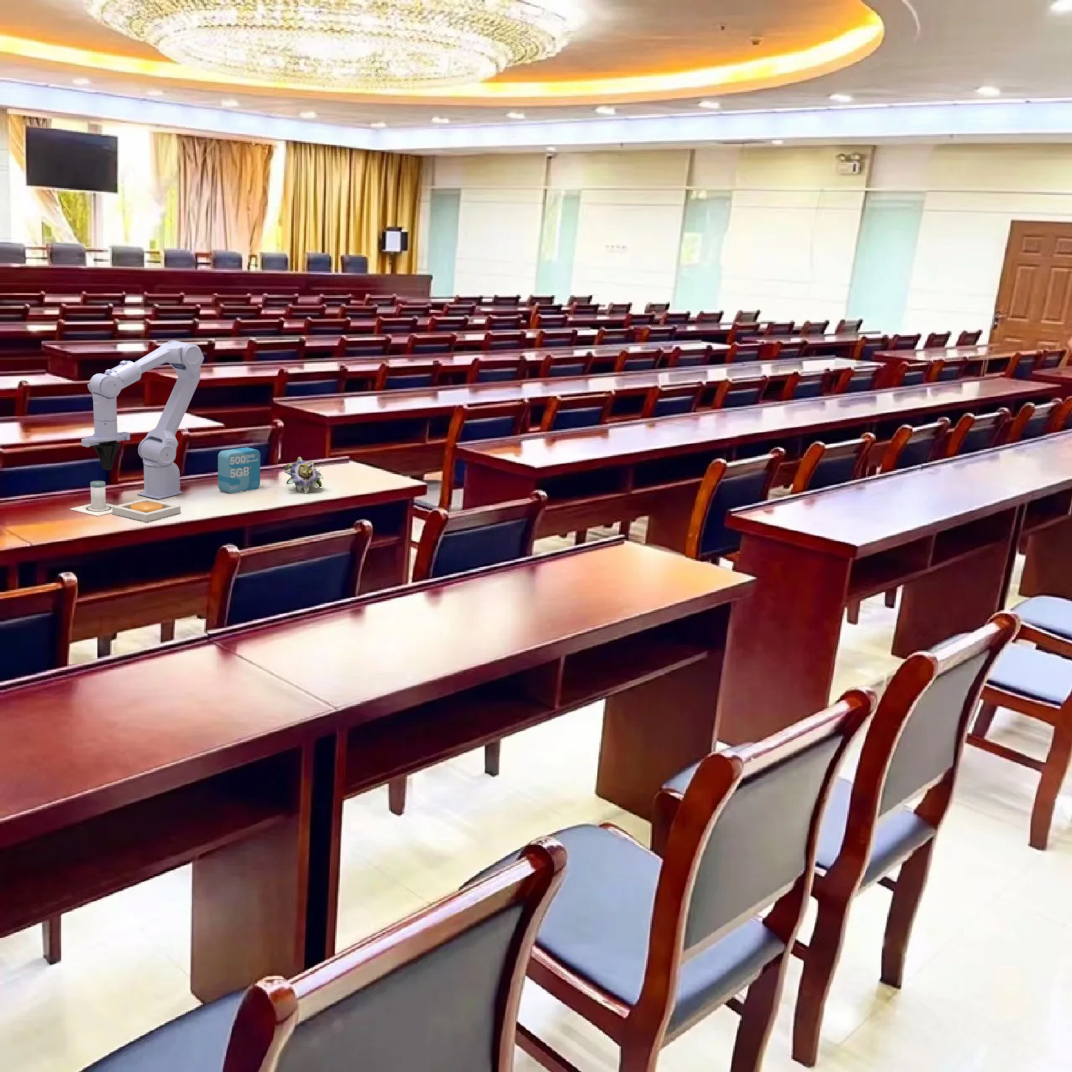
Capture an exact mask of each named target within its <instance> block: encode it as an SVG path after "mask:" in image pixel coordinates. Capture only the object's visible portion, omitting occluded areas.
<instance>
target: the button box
mask: <svg viewBox="0 0 1072 1072" xmlns="http://www.w3.org/2000/svg"><path fill="white" fill-rule="evenodd" d="M137 502H157V503H161V504H162V505H163V509H160V510H156V511H152V512H148V513H145V512H141V511H137V510H132V509H131V508H130V505H131V504H133V503H137ZM111 514H112V515H114V516H119V517H124V518H127V519H131V520H135V521H139V522H142V521H143V522H144V523H146V522H147V523H149V521H150V522H153V521H157V520H161V518H162V519H165V518H169V517H173V516H176V515H179V514H181V505H176V504H172V503H168V502H165V501H160V500H157V499H156V500H155V499H153V498H149V497H146V498H143V499H139V500H134V501H130V502H126V503H121V504H118V505H116V506H113V507H112V513H111ZM168 516H169V517H168Z"/></svg>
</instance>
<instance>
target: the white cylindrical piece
mask: <svg viewBox="0 0 1072 1072" xmlns="http://www.w3.org/2000/svg"><path fill="white" fill-rule="evenodd" d="M89 483H90V485H89V486H90V504H91V509H94V510H102V509H105V508H106V503H107V500H106V499H107V498H106V497H107V494H106V481H104V480H92V481H90V482H89Z"/></svg>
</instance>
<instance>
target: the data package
mask: <svg viewBox="0 0 1072 1072" xmlns="http://www.w3.org/2000/svg"><path fill="white" fill-rule="evenodd" d="M260 485H261V452H260V451H259V450H258V449H255V448H250V447H240V448H239V447H238V448H232V449H226V450H221V451H219V453H218V455H217V487H218V489H219V491H220V492H225V493H227V492H228V493H227V494H236V492H237V493H241V492H240V491H243V492H246V491H245V490H248V491H254V490H258V489H259V487H261V486H260ZM253 489H254V490H253Z"/></svg>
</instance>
